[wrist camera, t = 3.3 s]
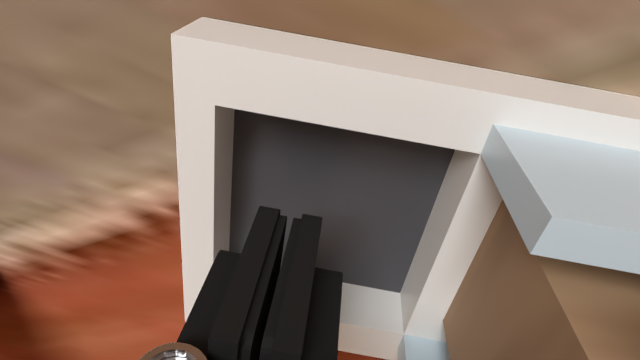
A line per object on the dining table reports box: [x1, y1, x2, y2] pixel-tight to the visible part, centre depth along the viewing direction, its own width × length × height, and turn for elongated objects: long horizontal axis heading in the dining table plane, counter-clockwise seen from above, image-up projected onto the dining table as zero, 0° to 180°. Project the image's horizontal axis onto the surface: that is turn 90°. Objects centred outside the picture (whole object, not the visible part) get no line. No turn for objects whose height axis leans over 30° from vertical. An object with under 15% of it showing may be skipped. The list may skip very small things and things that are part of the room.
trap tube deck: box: [171, 17, 640, 360], centre depth 11 cm, size 26×10×6 cm, turn 81°
